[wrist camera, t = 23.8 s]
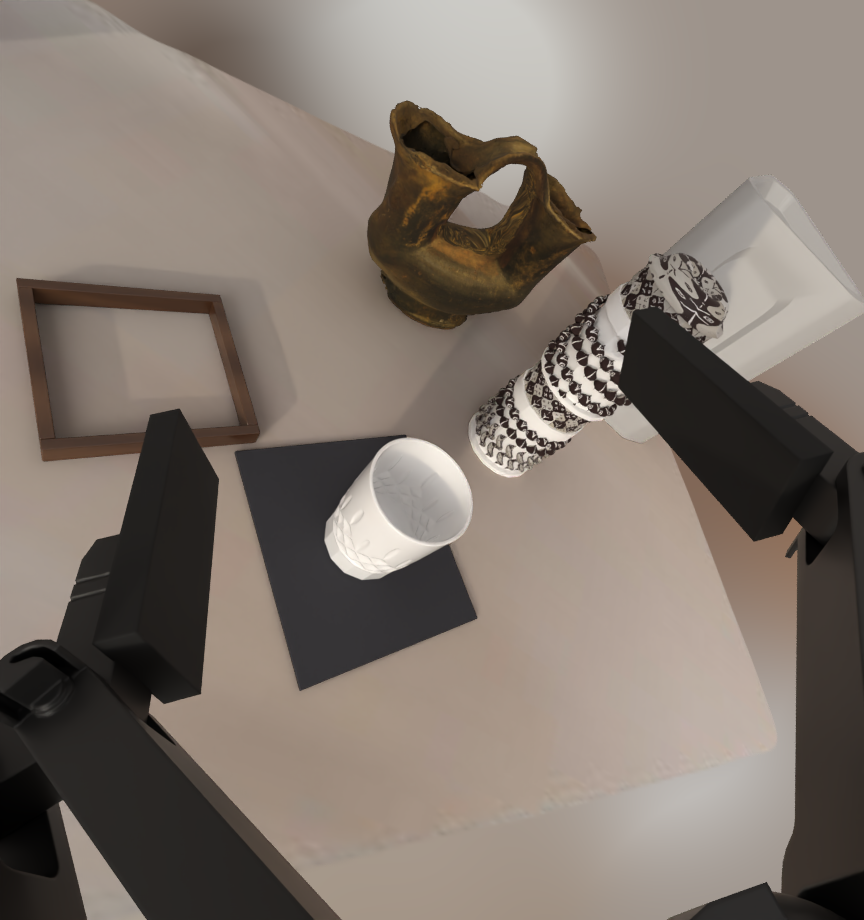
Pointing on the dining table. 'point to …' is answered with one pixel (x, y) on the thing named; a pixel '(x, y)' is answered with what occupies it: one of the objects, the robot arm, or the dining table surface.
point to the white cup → (399, 510)
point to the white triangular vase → (762, 284)
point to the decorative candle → (590, 365)
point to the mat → (321, 581)
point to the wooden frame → (127, 299)
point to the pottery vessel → (459, 247)
